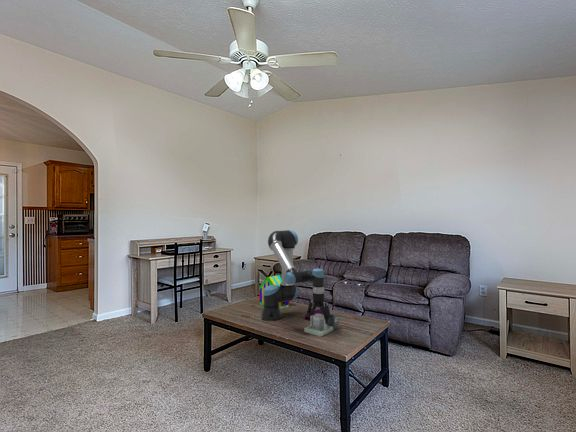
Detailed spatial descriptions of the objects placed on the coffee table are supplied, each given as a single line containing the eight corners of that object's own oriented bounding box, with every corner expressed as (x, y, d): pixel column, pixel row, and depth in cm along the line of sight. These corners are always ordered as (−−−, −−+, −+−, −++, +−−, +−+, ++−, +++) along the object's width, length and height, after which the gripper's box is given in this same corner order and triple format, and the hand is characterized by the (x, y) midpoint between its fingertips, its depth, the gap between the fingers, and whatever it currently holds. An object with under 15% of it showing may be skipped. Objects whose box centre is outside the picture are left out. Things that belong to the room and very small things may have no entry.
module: (313, 330, 214) (312, 315, 214) (317, 328, 218) (317, 313, 218) (319, 332, 211) (319, 316, 211) (324, 329, 215) (324, 314, 215)
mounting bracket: (305, 326, 241) (322, 321, 229) (301, 315, 244) (318, 309, 232) (313, 323, 248) (330, 318, 236) (310, 312, 250) (326, 306, 239)
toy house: (289, 306, 274) (289, 276, 273) (277, 310, 265) (276, 279, 264) (271, 301, 292) (271, 273, 292) (259, 304, 283) (258, 275, 283)
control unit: (322, 327, 223) (322, 312, 223) (326, 324, 227) (326, 310, 227) (334, 330, 217) (334, 314, 217) (338, 327, 221) (338, 313, 221)
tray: (304, 331, 214) (304, 328, 214) (316, 326, 224) (316, 322, 224) (321, 336, 205) (321, 332, 205) (333, 330, 216) (333, 326, 216)
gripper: (301, 291, 219) (301, 324, 219) (329, 296, 205) (330, 332, 205) (308, 289, 225) (308, 321, 225) (336, 294, 211) (336, 328, 211)
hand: (318, 326), depth 215 cm, fingers open, 10 cm apart
